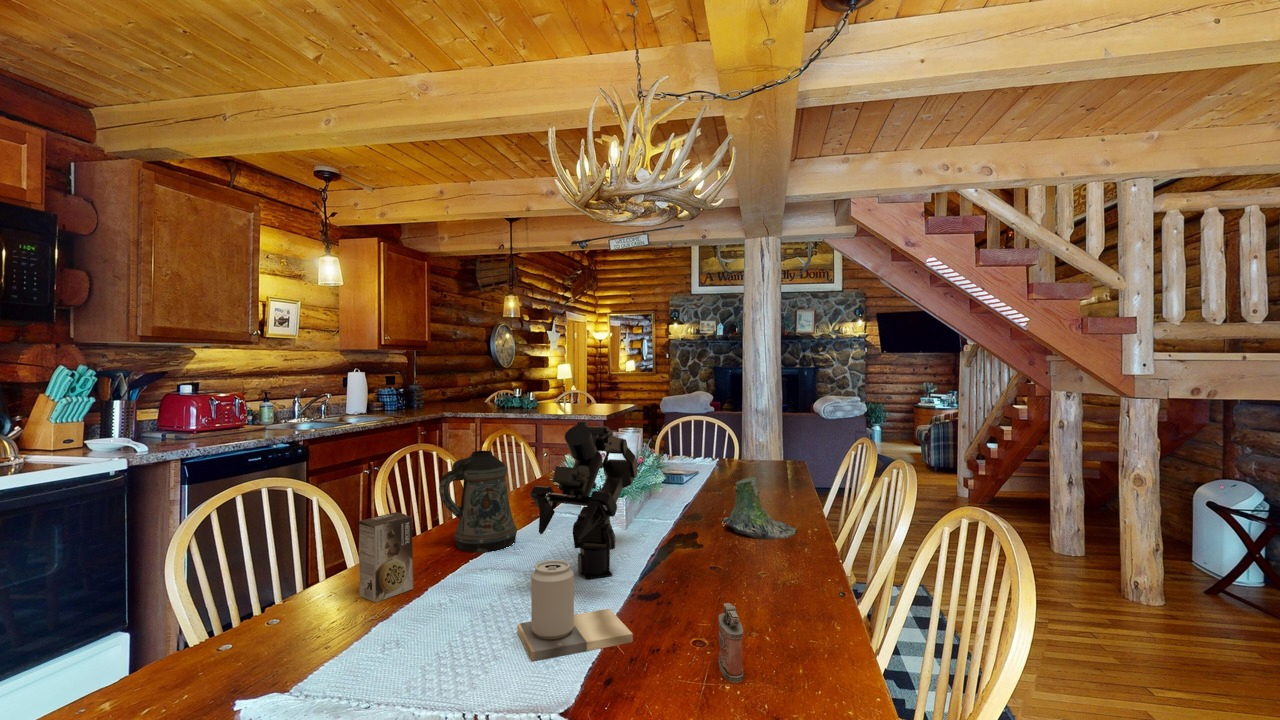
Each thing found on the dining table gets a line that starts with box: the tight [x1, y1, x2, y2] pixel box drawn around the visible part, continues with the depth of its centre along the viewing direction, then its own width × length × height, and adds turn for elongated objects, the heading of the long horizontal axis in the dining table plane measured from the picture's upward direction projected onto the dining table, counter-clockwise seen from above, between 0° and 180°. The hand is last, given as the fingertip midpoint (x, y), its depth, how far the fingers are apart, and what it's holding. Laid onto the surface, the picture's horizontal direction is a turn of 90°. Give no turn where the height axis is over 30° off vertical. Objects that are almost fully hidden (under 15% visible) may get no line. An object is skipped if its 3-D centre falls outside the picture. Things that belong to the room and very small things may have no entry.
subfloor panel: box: [516, 608, 634, 662], centre depth 112 cm, size 18×12×2 cm, turn 113°
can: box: [530, 559, 575, 639], centre depth 111 cm, size 8×8×12 cm
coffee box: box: [358, 511, 414, 603], centre depth 134 cm, size 9×6×16 cm
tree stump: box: [723, 476, 797, 540], centre depth 181 cm, size 18×20×18 cm
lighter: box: [718, 602, 744, 683], centre depth 101 cm, size 8×3×10 cm, turn 5°
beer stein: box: [438, 450, 518, 554], centre depth 168 cm, size 16×19×25 cm
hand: (559, 535), depth 129 cm, fingers open, 9 cm apart
